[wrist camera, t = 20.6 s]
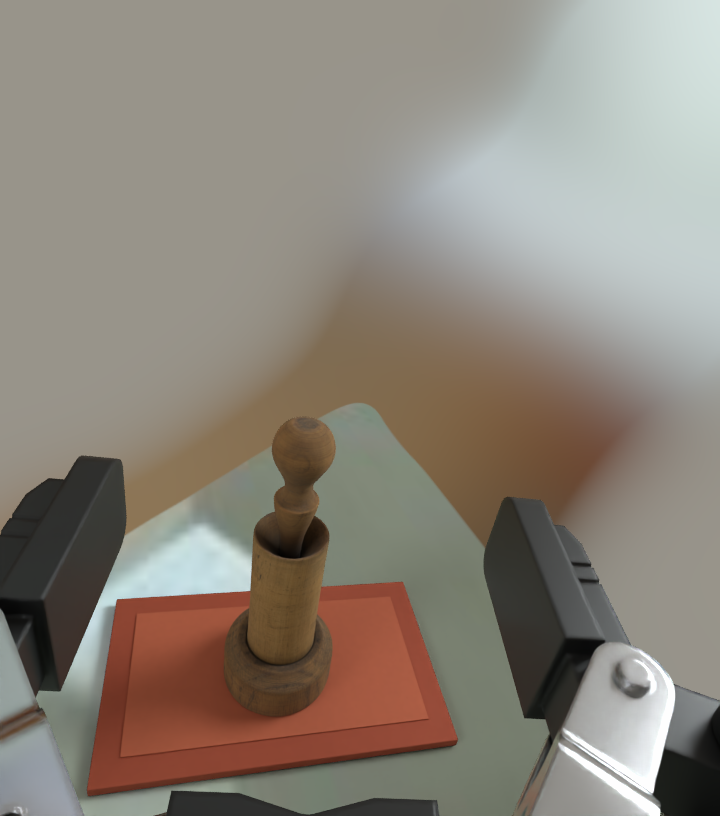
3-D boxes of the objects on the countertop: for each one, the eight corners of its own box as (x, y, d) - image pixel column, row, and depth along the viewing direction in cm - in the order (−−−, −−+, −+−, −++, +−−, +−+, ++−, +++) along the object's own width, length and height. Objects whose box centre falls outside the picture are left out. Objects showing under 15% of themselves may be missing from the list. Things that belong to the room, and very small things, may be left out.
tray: (401, 587, 45) (403, 580, 45) (456, 745, 35) (458, 738, 35) (117, 605, 40) (116, 597, 39) (87, 796, 30) (86, 789, 30)
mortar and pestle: (212, 635, 38) (221, 393, 29) (308, 612, 41) (344, 383, 32) (237, 732, 33) (258, 476, 24) (344, 698, 36) (400, 456, 27)
